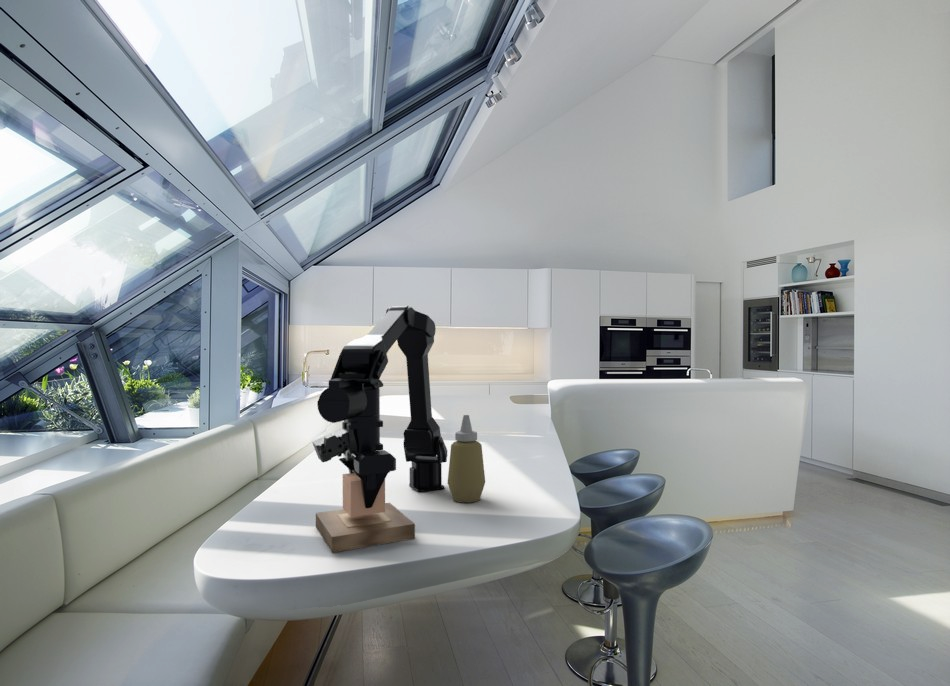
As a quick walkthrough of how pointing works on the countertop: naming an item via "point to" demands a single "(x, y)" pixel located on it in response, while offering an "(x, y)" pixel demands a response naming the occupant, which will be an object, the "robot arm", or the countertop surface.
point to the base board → (363, 528)
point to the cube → (360, 497)
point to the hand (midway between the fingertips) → (363, 503)
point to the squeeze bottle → (466, 465)
